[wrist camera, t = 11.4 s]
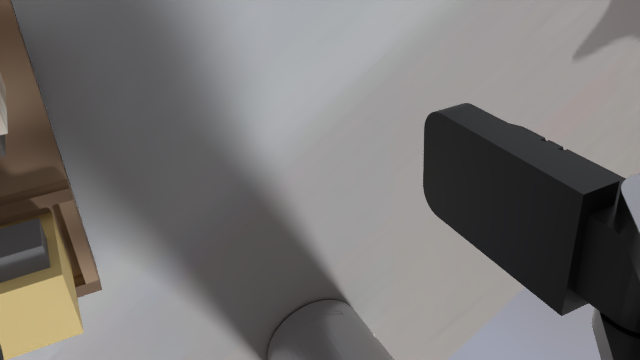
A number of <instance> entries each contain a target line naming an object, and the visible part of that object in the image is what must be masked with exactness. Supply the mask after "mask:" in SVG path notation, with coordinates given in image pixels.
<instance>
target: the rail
mask: <svg viewBox="0 0 640 360" xmlns="http://www.w3.org/2000/svg"><path fill="white" fill-rule="evenodd" d="M48 212H52V213H53V216H54V219H55V221H56V224H57V227H58V230H59V233H60V236H61V238H62V241H63V244H64V247H65V250H66V252H67V255H68V258H69V261H70V264H71V269H72V274H73V279H74V284H75V290H76V295H77V298H78V297H81V296H84V295H87V294H90V293H93V292H96V291H99V290H102V287H101V283H100V279H99V275H98V271H97V267H96V264H95V260H94V257H93V254H92V251H91V248H90V245H89V242H88V239H87V236H86V232H85V229H84V226H83V223H82V220H81V217H80V214H79V211H78V208H77V205H76V201H75V198H74V195H73V192H72V189H71V186H70V183H69V180H68V177H67V174H66V170H65V167H64V164H63V161H62V158H61V155H60V152H59V149H58V146H57V142H56V139H55V136H54V133H53V130H52V127H51V124H50V121H49V118H48V115H47V111H46V108H45V105H44V102H43V99H42V96H41V93H40V90H39V87H38V83H37V80H36V77H35V74H34V71H33V68H32V65H31V62H30V59H29V56H28V52H27V49H26V46H25V43H24V40H23V37H22V34H21V31H20V28H19V25H18V21H17V18H16V15H15V12H14V9H13V6H12V3H11V0H0V226H2V225H5V224H9V223H12V222H16V221H19V220H23V219H27V218H30V217H34V216H37V215H41V214H45V213H48Z"/></svg>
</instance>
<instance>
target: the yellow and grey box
mask: <svg viewBox="0 0 640 360" xmlns="http://www.w3.org/2000/svg"><path fill="white" fill-rule="evenodd" d="M81 333H84V332H83V326H82V321H81V316H80V311H79V305H78V300H77V295H76V290H75V284H74V279H73V274H72V269H71V264H70V261H69V258H68V255H67V252H66V250H65V247H64V244H63V241H62V238H61V236H60V233H59V230H58V227H57V224H56V221H55V219H54V216H53V213H52V212H48V213H45V214H41V215H37V216H34V217H30V218H27V219H23V220H19V221H16V222H12V223H9V224H5V225H2V226H0V345H1V348H2V352H3V357H4V360H7V359H10V358H13V357H16V356H19V355H21V354H24V353H27V352H30V351H33V350H36V349H38V348H41V347H44V346H47V345H50V344H53V343H55V342H58V341H61V340H64V339H67V338H70V337H73V336H75V335H78V334H81Z"/></svg>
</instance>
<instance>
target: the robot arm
mask: <svg viewBox="0 0 640 360" xmlns="http://www.w3.org/2000/svg"><path fill="white" fill-rule="evenodd" d="M423 188H424V194H425V197H426V200H427V203H428V205H429V206H430V208H431V210H432V211H433V212H434V214H435V215H437V216H438V217H439V218H440V219H441V220H443V221H444V222H445V223H446V224H448V225H449V226H450V227H451V228H453V229H454V230H455V231H456V232H457V233H459V234H460V235H461V236H462V237H464V238H465V239H466V240H467V241H469V242H470V243H471V244H472V245H474V246H475V247H476V248H477V249H479V250H480V251H481V252H482V253H484V254H485V255H486V256H487V257H489V258H490V259H491V260H492V261H494V262H495V263H496V264H497V265H499V266H500V267H501V268H502V269H504V270H505V271H506V272H507V273H508V274H510V275H511V276H512V277H513V278H515V279H516V280H517V281H518V282H520V283H521V284H522V285H523V286H525V287H526V288H527V289H528V290H530V291H531V292H532V293H533V294H535V295H536V296H537V297H538V298H540V299H541V300H542V301H543V302H545V303H546V304H547V305H548V306H550V307H551V308H552V309H553V310H555V311H556V312H557V313H558V314H560V315H561V316H563V315H564V314H567V313H569V312H571V311H573V310H575V309H577V308H580V307H581V306H584V305H586V304H588V303H589V304H591V305H592V306H593V307H595V309H594V314H593V318H592V327H593V331H594V335H595V339H596V342H597V346H598V349H599V353H600V357H601V360H640V174H636V175H633V176H630V177H629V178H627V179H625V178H623V177H621V176H619V175H617V174H615V173H613V172H611V171H609V170H607V169H605V168H603V167H601V166H600V165H598V164H596V163H594V162H592V161H590V160H588V159H586V158H584V157H582V156H580V155H578V154H576V153H574V152H572V151H570V150H568V149H567V150H563V147H562V146H560V145H558V144H556V143H554V142H552V141H550V140H548V141H546V140H545V138H544V137H542V136H540V135H538V134H536V133H534V132H532V131H530V130H528V129H526V128H524V127H521V126H517V125H514V124H510V123H507V122H505V121H503V120H501V119H499V118H497V117H495V116H493V115H491V114H489V113H487V112H485V111H483V110H482V109H480V108H478V107H476V106H474V105H472V104H469V103H464V104H460V105H457V106H453V107H450V108H446V109H443V110H439V111H436V112H432V113H430V114H429V115H428V117H427V119H426V121H425V127H424V172H423ZM0 360H4V357H3V352H2V348H1V345H0ZM267 360H394V359H393V358H392V356H391V355H390V354H389V353H388V351H387V350H386V349H385V348H384V346H383V345H382V344H381V343H380V342H379V340H378V339H377V338H376V336H375V335H374V334H373V333H372V331H371V330H370V329H369V328H368V327H367V325H366V324H365V323H364V322H363V320H362V319H361V318H360V317H359V316H358V314H357V313H356V312H355V311H354V309H353V308H352V307H350V306H349V305H348V304H347V303H344V302H341V301H338V300H321V301H317V302H314V303H311V304H308V305H306V306H304V307H302V308H300V309H299V310H297V311H296V312H294V313H293V314H291V315H290V316H289V317H288V318H287V319H286V320H285V321H284V322H283V323H282V324H281V325H280V327H279V328H278V329H277V330H276V332H275V334H274V335H273V337H272V339H271V341H270V344H269V347H268V354H267Z"/></svg>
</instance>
